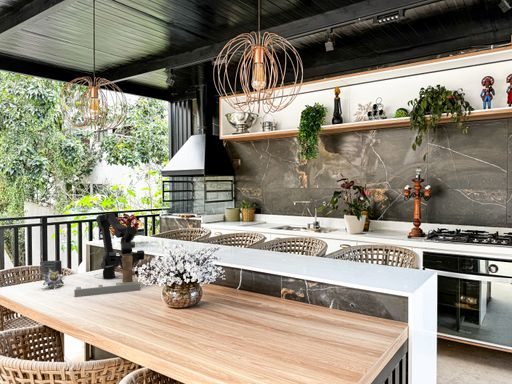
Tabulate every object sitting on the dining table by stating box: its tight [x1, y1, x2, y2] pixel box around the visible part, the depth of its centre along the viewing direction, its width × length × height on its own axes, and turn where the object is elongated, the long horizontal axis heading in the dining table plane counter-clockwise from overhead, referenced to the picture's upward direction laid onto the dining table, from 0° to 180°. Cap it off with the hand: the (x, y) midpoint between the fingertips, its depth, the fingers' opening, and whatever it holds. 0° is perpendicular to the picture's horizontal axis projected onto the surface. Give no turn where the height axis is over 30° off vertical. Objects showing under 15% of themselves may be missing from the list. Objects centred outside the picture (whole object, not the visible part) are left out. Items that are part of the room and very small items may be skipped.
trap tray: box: [73, 280, 141, 298], centre depth 210 cm, size 32×13×4 cm, turn 110°
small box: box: [39, 260, 63, 280], centre depth 245 cm, size 11×6×10 cm, turn 84°
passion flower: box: [40, 270, 65, 289], centre depth 220 cm, size 11×11×12 cm
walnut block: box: [121, 255, 134, 283], centre depth 214 cm, size 5×5×14 cm
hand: (127, 268), depth 214 cm, fingers closed on walnut block, 5 cm apart
